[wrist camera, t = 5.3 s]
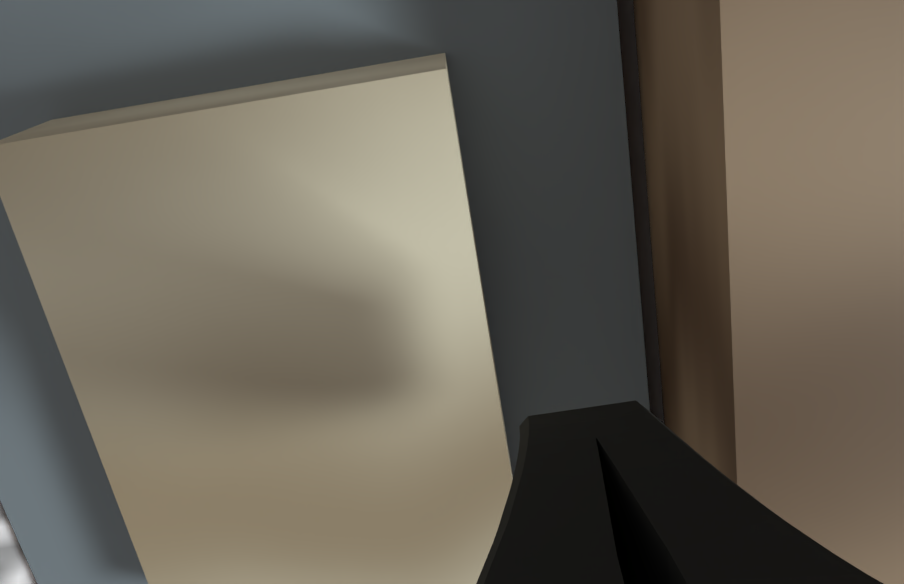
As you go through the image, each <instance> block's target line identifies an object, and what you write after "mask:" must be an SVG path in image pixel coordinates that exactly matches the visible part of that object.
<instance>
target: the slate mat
mask: <svg viewBox="0 0 904 584" xmlns="http://www.w3.org/2000/svg"><path fill="white" fill-rule="evenodd" d="M441 53H445V55H446V61H447V67H448V74H449V80H450V86H451V93H452V99H453V105H454V111H455V118H456V124H457V130H458V136H459V143H460V149H461V155H462V161H463V168H464V174H465V180H466V186H467V193H468V199H469V205H470V212H471V218H472V224H473V230H474V237H475V243H476V249H477V255H478V262H479V268H480V274H481V280H482V287H483V293H484V299H485V305H486V312H487V318H488V324H489V331H490V337H491V343H492V349H493V356H494V362H495V368H496V374H497V381H498V387H499V393H500V399H501V406H502V412H503V418H504V424H505V431H506V437H507V443H508V450H509V456H510V462H511V468H512V475H513V476H514V471H515V467H516V462H517V457H518V451H519V442H520V429H519V426H520V425H521V424H522V423H523V421H524V420H525V419H526V418H527V417H528V416H532V415H538V414H545V413H552V412H559V411H566V410H573V409H580V408H587V407H594V406H601V405H607V404H614V403H621V402H628V401H635V400H636V401H637V402H639V403H640V404H641V405H643V406H644V407H645V408H646V409H648V410H649V411H650V406H649V394H648V381H647V369H646V356H645V344H644V332H643V319H642V307H641V295H640V282H639V270H638V258H637V245H636V233H635V220H634V208H633V196H632V183H631V171H630V159H629V146H628V134H627V121H626V109H625V97H624V84H623V72H622V60H621V47H620V35H619V22H618V10H617V0H0V140H1V139H4V138H6V137H9V136H11V135H14V134H17V133H19V132H22V131H24V130H27V129H29V128H32V127H34V126H37V125H39V124H42V123H45V122H47V121H50V120H53V119H59V118H65V117H71V116H77V115H83V114H88V113H94V112H100V111H106V110H112V109H118V108H124V107H130V106H135V105H141V104H147V103H153V102H159V101H165V100H171V99H177V98H182V97H188V96H194V95H200V94H206V93H212V92H218V91H224V90H229V89H235V88H241V87H247V86H253V85H259V84H265V83H271V82H277V81H282V80H288V79H294V78H300V77H306V76H312V75H318V74H324V73H329V72H335V71H341V70H347V69H353V68H359V67H365V66H371V65H376V64H382V63H388V62H394V61H400V60H406V59H412V58H418V57H423V56H429V55H435V54H441ZM0 501H1V503H2V506H3V508H4V510H5V512H6V515H7V517H8V519H9V521H10V524H11V526H12V528H13V530H14V533H15V535H16V537H17V539H18V542H19V544H20V546H21V548H22V551H23V553H24V555H25V557H26V559H27V562H28V564H29V566H30V568H31V571H32V573H33V575H34V577H35V580H36V582H37V584H148V582H147V579H146V576H145V574H144V571H143V569H142V566H141V563H140V561H139V558H138V556H137V553H136V550H135V548H134V545H133V542H132V540H131V537H130V535H129V532H128V529H127V527H126V524H125V522H124V519H123V516H122V514H121V511H120V508H119V506H118V503H117V501H116V498H115V495H114V493H113V490H112V488H111V485H110V482H109V480H108V477H107V474H106V472H105V469H104V467H103V464H102V461H101V459H100V456H99V454H98V451H97V448H96V446H95V443H94V440H93V438H92V435H91V433H90V430H89V427H88V425H87V422H86V420H85V417H84V414H83V412H82V409H81V406H80V404H79V401H78V399H77V396H76V393H75V391H74V388H73V386H72V383H71V380H70V378H69V375H68V372H67V370H66V367H65V365H64V362H63V359H62V357H61V354H60V352H59V349H58V346H57V344H56V341H55V338H54V336H53V333H52V331H51V328H50V325H49V323H48V320H47V318H46V315H45V312H44V310H43V307H42V304H41V302H40V299H39V297H38V294H37V291H36V289H35V286H34V284H33V281H32V278H31V276H30V273H29V270H28V268H27V265H26V263H25V260H24V257H23V255H22V252H21V250H20V247H19V244H18V242H17V239H16V236H15V234H14V231H13V229H12V226H11V223H10V221H9V218H8V216H7V213H6V210H5V208H4V205H3V202H2V200H1V197H0Z"/></svg>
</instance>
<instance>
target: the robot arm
mask: <svg viewBox="0 0 904 584" xmlns="http://www.w3.org/2000/svg"><path fill="white" fill-rule="evenodd" d="M519 429H520V442H519V451H518V457H517V462H516V467H515V471H514V476H513V480H512V484H511V488H510V491H509V495H508V498H507V501H506V504H505V507H504V511H503V514H502V517H501V520H500V524H499V527H498V530H497V533H496V536H495V538H494V541H493V544H492V546H491V549H490V551H489V554H488V556H487V558H486V561H485V563H484V566H483V568H482V571H481V573H480V576H479V578H478V581H477V583H476V584H883V583H882V582H880V581H878V580H876V579H875V578H873V577H871V576H869V575H868V574H866V573H864V572H863V571H861V570H860V569H858V568H856V567H855V566H853V565H851V564H850V563H848V562H847V561H845V560H843V559H842V558H840V557H839V556H837V555H835V554H834V553H832V552H831V551H829V550H828V549H826V548H825V547H823V546H822V545H820V544H819V543H817V542H816V541H814V540H813V539H811V538H810V537H808V536H807V535H806V534H804V533H803V532H801V531H800V530H798V529H797V528H795V527H794V526H792V525H791V524H789V523H788V522H786V521H785V520H784V519H782V518H781V517H779V516H778V515H777V514H775V513H774V512H773V511H771V510H770V509H768V508H767V507H766V506H764V505H763V504H762V503H760V502H759V501H758V500H757V499H755V498H754V497H753V496H751V495H750V494H749V493H747V492H746V491H745V490H744V489H742V488H741V487H740V486H738V485H737V484H736V483H735V482H733V481H732V480H731V479H729V478H728V477H727V476H725V475H724V474H723V473H722V472H720V471H719V470H718V469H717V468H715V467H714V466H713V465H712V464H710V463H709V462H708V461H707V460H706V459H704V458H703V457H702V456H701V455H700V454H698V453H697V452H696V451H695V450H694V449H693V448H691V447H690V446H689V445H688V444H687V443H685V442H684V441H683V440H682V439H681V438H680V437H678V436H677V435H676V434H675V433H674V432H673V431H672V430H670V429H669V428H668V427H667V426H666V425H665V424H664V423H662V422H661V421H660V420H659V419H658V418H657V417H656V416H655V415H653V414H652V413H651V412H650V411H649V410H648V409H646V408H645V407H644V406H643V405H641V404H640V403H639V402H637V401H636V400H635V401H628V402H621V403H614V404H607V405H601V406H594V407H587V408H580V409H573V410H566V411H559V412H552V413H545V414H538V415H532V416H528V417H527V418H526V419H525V420H524V421H523V423H522V424H521V425H520V426H519Z"/></svg>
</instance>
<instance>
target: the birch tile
mask: <svg viewBox="0 0 904 584" xmlns="http://www.w3.org/2000/svg"><path fill="white" fill-rule="evenodd" d="M0 197H1V200H2V202H3V205H4V208H5V210H6V213H7V216H8V218H9V221H10V223H11V226H12V229H13V231H14V234H15V236H16V239H17V242H18V244H19V247H20V250H21V252H22V255H23V257H24V260H25V263H26V265H27V268H28V270H29V273H30V276H31V278H32V281H33V284H34V286H35V289H36V291H37V294H38V297H39V299H40V302H41V304H42V307H43V310H44V312H45V315H46V318H47V320H48V323H49V325H50V328H51V331H52V333H53V336H54V338H55V341H56V344H57V346H58V349H59V352H60V354H61V357H62V359H63V362H64V365H65V367H66V370H67V372H68V375H69V378H70V380H71V383H72V386H73V388H74V391H75V393H76V396H77V399H78V401H79V404H80V406H81V409H82V412H83V414H84V417H85V420H86V422H87V425H88V427H89V430H90V433H91V435H92V438H93V440H94V443H95V446H96V448H97V451H98V454H99V456H100V459H101V461H102V464H103V467H104V469H105V472H106V474H107V477H108V480H109V482H110V485H111V488H112V490H113V493H114V495H115V498H116V501H117V503H118V506H119V508H120V511H121V514H122V516H123V519H124V522H125V524H126V527H127V529H128V532H129V535H130V537H131V540H132V542H133V545H134V548H135V550H136V553H137V556H138V558H139V561H140V563H141V566H142V569H143V571H144V574H145V576H146V579H147V582H148V584H476V583H477V581H478V578H479V576H480V573H481V571H482V568H483V566H484V563H485V561H486V558H487V556H488V554H489V551H490V549H491V546H492V544H493V541H494V538H495V536H496V533H497V530H498V527H499V524H500V520H501V517H502V514H503V511H504V507H505V504H506V501H507V498H508V495H509V491H510V488H511V484H512V480H513V475H512V468H511V462H510V456H509V450H508V443H507V437H506V431H505V424H504V418H503V412H502V406H501V399H500V393H499V387H498V381H497V374H496V368H495V362H494V356H493V349H492V343H491V337H490V331H489V324H488V318H487V312H486V305H485V299H484V293H483V287H482V280H481V274H480V268H479V262H478V255H477V249H476V243H475V237H474V230H473V224H472V218H471V212H470V205H469V199H468V193H467V186H466V180H465V174H464V168H463V161H462V155H461V149H460V143H459V136H458V130H457V124H456V118H455V111H454V105H453V99H452V93H451V86H450V80H449V74H448V67H447V61H446V55H445V53H441V54H435V55H429V56H423V57H418V58H412V59H406V60H400V61H394V62H388V63H382V64H376V65H371V66H365V67H359V68H353V69H347V70H341V71H335V72H329V73H324V74H318V75H312V76H306V77H300V78H294V79H288V80H282V81H277V82H271V83H265V84H259V85H253V86H247V87H241V88H235V89H229V90H224V91H218V92H212V93H206V94H200V95H194V96H188V97H182V98H177V99H171V100H165V101H159V102H153V103H147V104H141V105H135V106H130V107H124V108H118V109H112V110H106V111H100V112H94V113H88V114H83V115H77V116H71V117H65V118H59V119H53V120H50V121H47V122H45V123H42V124H39V125H37V126H34V127H32V128H29V129H27V130H24V131H22V132H19V133H17V134H14V135H11V136H9V137H6V138H4V139H1V140H0Z"/></svg>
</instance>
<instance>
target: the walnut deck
mask: <svg viewBox="0 0 904 584" xmlns="http://www.w3.org/2000/svg"><path fill="white" fill-rule="evenodd" d="M633 4H634V18H635V31H636V45H637V58H638V72H639V85H640V99H641V113H642V126H643V140H644V153H645V167H646V181H647V194H648V208H649V221H650V235H651V248H652V262H653V276H654V289H655V303H656V316H657V330H658V343H659V357H660V371H661V384H662V398H663V411H664V424H665V425H666V426H667V427H668V428H669V429H670V430H672V431H673V432H674V433H675V434H676V435H677V436H678V437H680V438H681V439H682V440H683V441H684V442H685V443H687V444H688V445H689V446H690V447H691V448H693V449H694V450H695V451H696V452H697V453H698V454H700V455H701V456H702V457H703V458H704V459H706V460H707V461H708V462H709V463H710V464H712V465H713V466H714V467H715V468H717V469H718V470H719V471H720V472H722V473H723V474H724V475H725V476H727V477H728V478H729V479H731V480H732V481H733V482H735V483H736V484H737V485H738V486H740V487H741V488H742V489H744V490H745V491H746V492H747V493H749V494H750V495H751V496H753V497H754V498H755V499H757V500H758V501H759V502H760V503H762V504H763V505H764V506H766V507H767V508H768V509H770V510H771V511H773V512H774V513H775V514H777V515H778V516H779V517H781V518H782V519H784V520H785V521H786V522H788V523H789V524H791V525H792V526H794V527H795V528H797V529H798V530H800V531H801V532H803V533H804V534H806V535H807V536H808V537H810V538H811V539H813V540H814V541H816V542H817V543H819V544H820V545H822V546H823V547H825V548H826V549H828V550H829V551H831V552H832V553H834V554H835V555H837V556H839V557H840V558H842V559H843V560H845V561H847V562H848V563H850V564H851V565H853V566H855V567H856V568H858V569H860V570H861V571H863V572H864V573H866V574H868V575H869V576H871V577H873V578H875V579H876V580H878V581H880V582H882V583H883V584H904V0H633Z"/></svg>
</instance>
